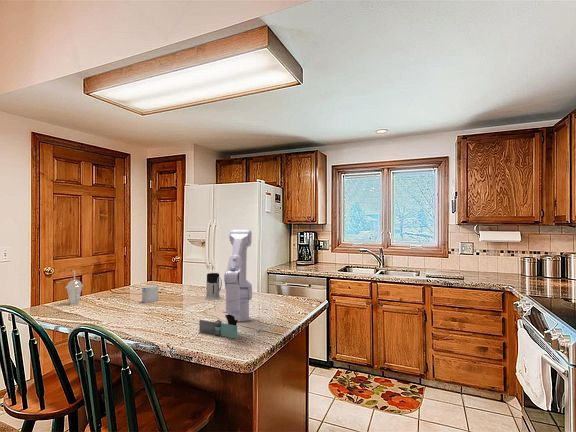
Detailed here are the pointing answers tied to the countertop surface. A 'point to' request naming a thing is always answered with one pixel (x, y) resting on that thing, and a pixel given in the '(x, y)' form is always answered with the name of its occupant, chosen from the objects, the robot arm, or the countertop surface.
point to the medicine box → (149, 294)
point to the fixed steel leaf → (209, 327)
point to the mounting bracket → (261, 329)
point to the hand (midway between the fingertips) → (232, 332)
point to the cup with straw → (74, 291)
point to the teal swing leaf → (227, 330)
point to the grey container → (213, 286)
